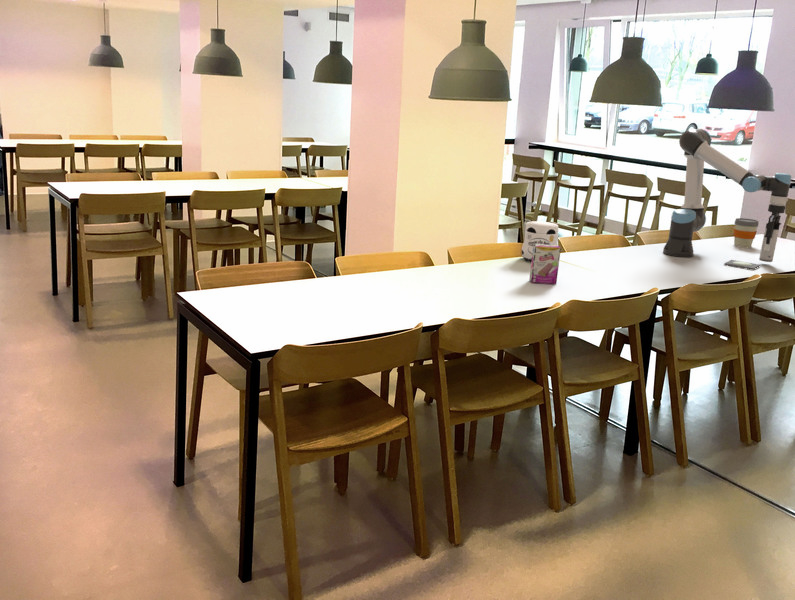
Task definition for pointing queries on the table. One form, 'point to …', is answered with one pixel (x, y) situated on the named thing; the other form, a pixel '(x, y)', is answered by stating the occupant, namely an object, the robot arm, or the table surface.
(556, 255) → the candy bar box
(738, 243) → the reusable coffee cup
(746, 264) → the pad
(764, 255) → the travel mug
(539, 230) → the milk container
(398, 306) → the table surface
